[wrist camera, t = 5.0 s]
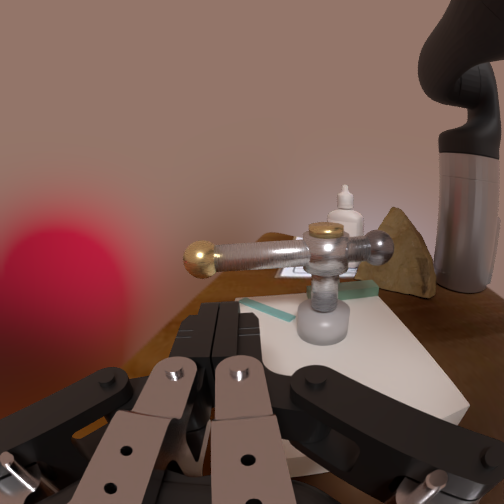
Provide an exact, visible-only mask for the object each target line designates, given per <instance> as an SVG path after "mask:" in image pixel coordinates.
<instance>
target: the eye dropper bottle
mask: <svg viewBox="0 0 504 504" xmlns="http://www.w3.org/2000/svg"><path fill="white" fill-rule="evenodd" d="M337 207H338V209H337V210H334V211H331V212H330V213H329V214H328V216H327V222H333V223H339V224H342V225H344V232H347V233H348V234H349V235H350V236H349V237H356V236H363V235H364V234H363V233H364V218H363V216H362V215H361V214H360V213H358V212H356V211H354V210H353V209H351V208H353V194H351V193H349V191H348V186H347V185H343V187H342V192H341V193H339V194H338V195H337ZM360 263H361V262H350V263H348V268H356V267H358V266H359V265H360Z"/></svg>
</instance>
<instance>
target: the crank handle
mask: <svg viewBox="0 0 504 504" xmlns="http://www.w3.org/2000/svg"><path fill="white" fill-rule="evenodd" d="M349 236H350V235H349V234H348V233H347V232H344V225H342V224H339V223H333V222H319V223H312V224H310V225H309V231H307V232H305V233H304V234H303V240H288V241H272V242H256V243H242V244H226V245H214V244H213V243H211V242H209V241H205V240H199V241H196V242H193V243H192V244H190V245H189V246H188V247H187V249H186V250H185V252H184V256H183V263H184V266H185V269H186V270H187V272H188V273H189V274H191V275H192V276H194V277H196V278H200V279H204V278H208V277H211V276H212V275H214V274H215V273H216V272H223V271H240V270H255V269H270V268H285V267H298V266H303V269H304V270H305V271H306V272H307V273H310V274H312V282H311V307H312V308H313V309H314V310H316V311H320V312H329V311H333V310H335V309H336V308H337V304H338V290H339V275H341V274H343V273H345V272H347V270H348V263H350V262H362V261H366V262H368V263H369V264H371V265H375V266H380V265H383V264H385V263H387V262H388V261H389V260H390V259H391V258H392V256H393V253H394V243H393V240H392V238H391V237H390V235H389V234H387V233H386V232H384V231H382V230H373V231H370V232H368V233H367V234H366V235H365V236H356V237H349Z"/></svg>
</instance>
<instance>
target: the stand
mask: <svg viewBox="0 0 504 504" xmlns="http://www.w3.org/2000/svg"><path fill="white" fill-rule="evenodd" d="M378 292H379V286H378V285H377V284H376V283H375V282H374V281H373V280H364V281H354V282H344V283H339V290H338V304H337V308H336V309H335V310H333V311H329V312H320V311H316V310H314V309H313V308H312V307H311V286H307V293H300V294H288V295H275V296H261V297H245V298H235V301H239V303H240V313H250V312H253V313H254V314H255V315H256V316H257V317H258V318H259V327H260V339H261V351H262V361H263V363H264V365H265V366H266V367H267V368H268V369H269V370H271V371H272V372H275V373H277V374H282V375H288V376H292V375H293V373H294V372H295V371H297V370H298V369H300V368H302V367H305V366H309V365H323V366H327V367H329V368H331V369H333V370H335V371H337V372H339V373H341V374H343V375H345V376H347V377H349V378H351V379H353V380H355V381H357V382H359V383H361V384H363V385H365V386H368V387H370V388H372V389H374V390H376V391H378V392H380V393H382V394H384V395H387V396H389V397H391V398H393V399H395V400H398V401H400V402H402V403H404V404H406V405H409V406H411V407H413V408H416V409H418V410H420V411H423V412H425V413H427V414H430V415H432V416H435V417H437V418H440V419H442V420H445V421H447V422H450V423H452V424H455V425H457V426H458V424H459V423H460V421H461V419H462V418H463V416H464V415H465V413H466V411H467V410H468V408H469V406H470V404H469V403H468V402H467V400H466V399H465V398H464V396H463V395H462V394H461V393H460V391H459V390H458V389H457V387H456V386H455V385H454V384H453V382H452V381H451V380H450V379H449V377H448V376H447V375H446V374H445V372H444V371H443V370H442V369H441V367H440V366H439V365H438V364H437V362H436V361H435V360H434V359H433V358H432V356H431V355H430V354H429V353H428V352H427V350H426V349H425V348H424V347H423V346H422V345H421V343H420V342H419V341H418V340H417V339H416V338H415V336H414V335H413V334H412V333H411V332H410V331H409V330H408V328H407V327H406V326H405V325H404V324H403V323H402V322H401V321H400V319H399V318H398V317H397V316H396V315H395V314H394V313H393V312H392V311H391V309H390V308H389V307H388V306H387V305H386V304H385V303H384V302H383V301H382V300H381V299H380V298H379V296H378ZM282 443H283V448H284V452H285V456H286V461H287V465H288V469H289V474H290V478H291V477H299V476H306V475H313V474H319V473H325V472H329V471H328V470H326V469H325V468H323V467H322V466H320V465H319V464H317V463H316V462H314V461H313V460H311V459H310V458H308V457H307V456H306V455H304V454H303V453H301V452H300V451H299V450H297V449H296V448H294V447H293V446H292V445H291V444H290V442H289V440H285V439H282Z"/></svg>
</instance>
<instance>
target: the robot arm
mask: <svg viewBox="0 0 504 504" xmlns="http://www.w3.org/2000/svg"><path fill="white" fill-rule="evenodd" d="M499 60H504V0H451V1H450V4H449V6H448V8H447V10H446V12H445V14H444V15H443V17H442V19H441V20H440V21H439V23H438V24H437V26H436V27H435V29H434V30H433V32H432V33H431V34H430V36H429V37H428V39H427V40H426V42H425V44H424V46H423V48H422V50H421V53H420V56H419V62H418V77H419V81H420V85H421V87H422V89H423V90H424V92H425V94H426V95H427V96H428V97H429V98H431V99H432V100H434V101H436V102H439V103H441V104H445V105H451V106H458V107H462V108H467V110H468V121H467V123H466V124H464V125H463V126H461V127H458V128H455V129H451V130H447V131H444V132H442V133H441V134H440V135H439V174H440V186H439V189H440V190H439V213H438V226H437V237H436V246H435V254H434V262H433V267H434V271H435V274H436V282H437V283H438V284H440V285H441V286H444V287H446V288H448V289H451V290H454V291H459V292H465V293H476V292H480V291H483V290H484V289H485V288H486V285H487V284H489V283H490V282H491V277H492V273H493V267H494V262H495V257H496V251H497V244H498V237H499V229H500V218H499V217H498V205H499V146H500V140H501V121H500V110H499V100H498V92H497V85H496V80H495V76H494V72H493V69H492V66H491V64H490V62H493V61H499ZM211 408H215V419H212V422H211V421H210V415H211ZM103 416H104V417H105V419H106V420H107V422H108V424H106V425H104V426H102V427H101V428H99V429H97V430H96V431H94V432H92V433H90V434H89V435H87V436H85V437H83V438H81V439H75V438H73V437H72V435H73V434H74V433H75V432H76V431H78V430H80V429H82V428H84V427H85V426H87V425H89V424H91V423H93V422H94V421H96V420H98V419H100V418H101V417H103ZM210 428H211V475H208V476H203V475H202V467H203V461H204V457H205V452H206V447H207V442H208V438H209V433H210ZM282 439H285V440H289V442H290V444H291V445H292V446H293V447H294V448H296V449H297V450H299V451H300V452H301V453H303V454H304V455H306V456H307V457H308V458H310V459H311V460H313V461H314V462H316V463H317V464H319V465H320V466H322V467H323V468H325V469H326V470H328V471H329V472H331V473H333V474H334V475H336V476H337V477H339V478H341V479H342V480H344V481H346V482H347V483H349V484H351V485H352V486H354V487H356V488H357V489H359V490H361V491H363V492H365V493H366V494H368V495H370V496H372V497H374V498H376V499H378V500H379V501H381V502H383V503H384V504H479V501H480V500H481V498H482V497H483V496H484V495H485V494H486V493H488V492H489V491H490V490H491V489H492V488H493V487H495V486H496V485H497V484H498V483H499V482H500V481H501V480H502V479H504V443H503V442H502V441H499V440H497V439H494V438H491V437H488V436H485V435H482V434H479V433H476V432H474V431H471V430H468V429H465V428H463V427H460V426H457V425H455V424H452V423H450V422H447V421H445V420H442V419H440V418H437V417H435V416H432V415H430V414H427V413H425V412H423V411H420V410H418V409H416V408H413V407H411V406H409V405H406V404H404V403H402V402H400V401H398V400H395V399H393V398H391V397H389V396H387V395H384V394H382V393H380V392H378V391H376V390H374V389H372V388H370V387H368V386H365V385H363V384H361V383H359V382H357V381H355V380H353V379H351V378H349V377H347V376H345V375H343V374H341V373H339V372H337V371H335V370H333V369H331V368H329V367H327V366H323V365H309V366H305V367H302V368H300V369H298V370H297V371H295V372H294V373H293V375H292V376H288V375H282V374H277V373H275V372H272V371H271V370H269V369H268V368H267V367H266V366H265V365H264V363H263V361H262V351H261V339H260V327H259V318H258V317H257V316H256V315H255V314H254V313H253V312H250V313H240V303H239V301H231V302H221V303H220V302H212V303H201V306H200V309H199V312H198V315H189V316H188V317H187V318H186V319H185V320H184V321H182V323H181V325H180V328H179V331H178V333H177V336H176V339H175V341H174V344H173V347H172V350H171V352H170V355H169V358H166V359H164V360H162V361H160V362H159V363H157V364H156V365H155V367H154V368H153V370H152V372H151V374H150V375H149V376H145V377H140V378H133V379H129V378H128V375H127V373H126V372H125V371H124V370H122V369H120V368H116V367H108V368H104V369H101V370H98V371H97V372H95V373H93V374H91V375H89V376H87V377H85V378H83V379H81V380H79V381H77V382H76V383H74V384H72V385H70V386H68V387H66V388H64V389H62V390H60V391H58V392H56V393H54V394H52V395H50V396H48V397H46V398H44V399H42V400H40V401H38V402H36V403H34V404H32V405H30V406H28V407H26V408H24V409H22V410H19V411H17V412H15V413H13V414H11V415H9V416H7V417H5V418H3V419H1V420H0V504H341V503H339V502H338V501H336V500H335V499H333V498H332V497H331V496H329V495H328V494H326V493H325V492H323V491H321V490H319V489H317V488H316V487H313V486H311V485H308V484H306V483H303V482H299V481H296V480H291V478H290V474H289V469H288V465H287V461H286V456H285V452H284V448H283V443H282Z"/></svg>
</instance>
